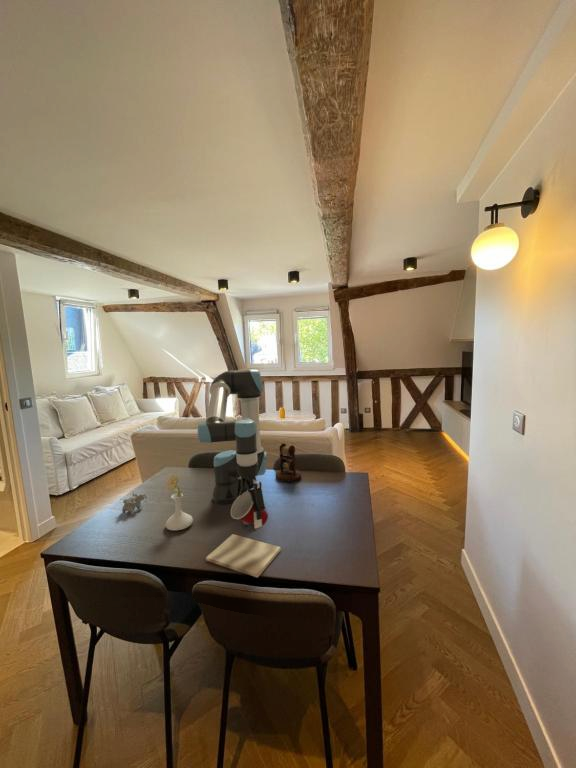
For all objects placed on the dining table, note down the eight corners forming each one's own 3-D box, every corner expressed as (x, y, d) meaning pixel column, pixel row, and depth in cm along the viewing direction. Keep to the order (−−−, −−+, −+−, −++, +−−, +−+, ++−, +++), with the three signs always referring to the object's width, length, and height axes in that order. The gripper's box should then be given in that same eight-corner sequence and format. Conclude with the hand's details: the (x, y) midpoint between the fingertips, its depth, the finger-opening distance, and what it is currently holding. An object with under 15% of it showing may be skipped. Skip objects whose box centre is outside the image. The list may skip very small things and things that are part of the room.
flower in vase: (165, 523, 146) (160, 468, 143) (191, 516, 150) (187, 464, 148) (166, 538, 134) (161, 479, 131) (195, 531, 139) (190, 473, 136)
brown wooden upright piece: (306, 476, 190) (305, 443, 188) (289, 485, 179) (288, 450, 177) (287, 471, 200) (285, 439, 198) (270, 479, 189) (268, 445, 187)
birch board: (206, 560, 119) (205, 557, 119) (232, 536, 133) (232, 534, 133) (257, 577, 109) (257, 574, 109) (280, 550, 123) (280, 547, 123)
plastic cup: (275, 501, 126) (255, 487, 120) (271, 530, 118) (249, 515, 112) (254, 507, 131) (233, 493, 125) (248, 535, 124) (226, 521, 117)
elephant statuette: (119, 516, 155) (117, 501, 153) (134, 502, 166) (132, 488, 165) (137, 517, 153) (135, 502, 152) (151, 503, 165) (149, 489, 164)
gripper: (273, 468, 113) (276, 530, 115) (241, 453, 130) (244, 507, 133) (254, 474, 108) (258, 538, 111) (224, 458, 126) (227, 514, 128)
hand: (250, 521), depth 122 cm, fingers closed on plastic cup, 9 cm apart
